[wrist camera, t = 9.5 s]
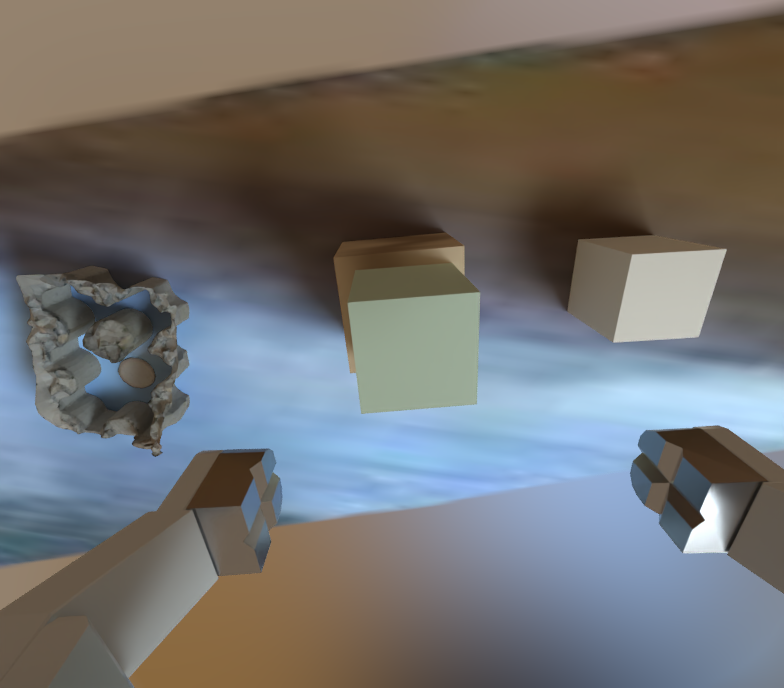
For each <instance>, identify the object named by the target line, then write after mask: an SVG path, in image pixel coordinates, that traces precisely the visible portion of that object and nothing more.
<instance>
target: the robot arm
mask: <svg viewBox="0 0 784 688" xmlns="http://www.w3.org/2000/svg"><path fill="white" fill-rule="evenodd" d="M638 447H639V448H640V450H641V452H642V453H641V454H640V455H639V456H638V457H637V458H636V459H635V460H634V461H633V463H632V467H631V472H630V475H631V481H632V486H633V488H634V490H635V492H636V495H637V496H638V497H639V499H640V500H641V501H642V503H643V504H644V505H645V506H646V507H648V508H650V509H651V510H653V511H655V512H656V513H658V514H659V524H660V526H661V527H662V528H663V529H664V531H665V532H666V533H667V534H668V536H669V537H670V538H671V539H672V541H673V542H674V543H675V544H676V545H677V547H678V548H679V549H680V551H681V552H682V553H724V552H725V553H726V552H728V554H727V555H728V556H730V557H731V558H733V559H734V560H736V561H737V562H738V563H740V564H742V565H743V566H744V567H746V568H747V569H749V570H750V571H751V572H753V573H754V574H756V575H757V576H759V577H760V578H762V579H763V580H765V581H766V582H767V583H769V584H770V585H772V586H773V587H775V588H776V589H778V590H779V591H781V592H782V593H784V469H782V468H781V467H780V466H778V465H777V464H776V463H774V462H773V461H772V460H770V459H769V458H767V457H766V456H765V455H763V454H762V453H760V452H759V451H758V450H756V449H755V448H754V447H752V446H751V445H749V444H748V443H747V442H745V441H744V440H743V439H741V438H740V437H738V436H737V435H736V434H734V433H733V432H731V431H730V430H729V429H727V428H724V427H721V426H704V427H693V428H680V429H662V430H646V431H645V432H644V433H643V434H642V435H641V436H640V439H639V442H638ZM275 465H276V460H275V456H274V453H273V451H272V450H271V449H233V450H209V451H201V452H199V453H198V454H196V455H195V457H194V458H193V460H192V461H191V462H190V464H189V465H188V467H187V468H186V470H185V471H184V472H183V474H182V475H181V477H180V478H179V480H178V481H177V482H176V484H175V485H174V487H173V488H172V490H171V491H170V492H169V494H168V495H167V497H166V498H165V500H164V501H163V502H162V504H161V505H160V507H159V508H158V510H157V511H155V512H148V513H146V514H145V515H143V516H142V517H140V518H139V519H137V520H135V521H134V522H132V523H131V524H129V525H128V526H126V527H125V528H123V529H122V530H120V531H119V532H117V533H116V534H114V535H113V536H111V537H110V538H108V539H107V540H105V541H104V542H102V543H101V544H99V545H98V546H96V547H95V548H93V549H92V550H90V551H89V552H87V553H86V554H84V555H83V556H81V557H80V558H78V559H77V560H75V561H74V562H72V563H71V564H69V565H68V566H66V567H65V568H63V569H62V570H60V571H59V572H57V573H56V574H54V575H53V576H51V577H50V578H48V579H47V580H45V581H44V582H42V583H41V584H39V585H38V586H36V587H35V588H33V589H32V590H30V591H29V592H27V593H26V594H24V595H23V596H21V597H20V598H19V599H17V600H15V601H14V602H12V603H11V604H9V605H8V606H6V607H5V608H3V609H2V610H0V688H134V686H133V685H132V683H131V682H130V680H129V679H128V678H129V677H130V676H131V675H132V674H133V672H134V671H135V670H136V669H137V668H138V667H139V666H140V665H141V664H142V663H143V661H144V660H145V659H146V658H147V657H148V656H149V655H150V654H151V653H152V651H153V650H154V649H155V648H156V647H157V646H158V645H159V644H160V643H161V642H162V640H163V639H164V638H165V637H166V636H167V635H168V634H169V633H170V631H171V630H172V629H173V628H174V627H175V626H176V625H177V623H179V622H180V621H181V619H182V618H183V617H184V616H185V615H186V614H187V613H188V612H189V610H190V609H191V608H192V607H193V606H194V605H195V604H196V603H197V602H198V601H199V600H200V598H201V597H202V596H203V595H204V594H205V593H206V591H208V590H209V588H210V587H211V586H212V585H213V584H214V583H215V582H216V581H217V580H218V576H225V575H237V574H251V573H261V572H262V568H263V566H264V562H265V559H266V556H267V553H268V550H269V547H270V544H271V540H270V535H269V532H268V531H269V530H270V529H271V528H272V527H273V526H274V525H276V524H277V522H278V519H279V515H280V512H281V504H282V486H281V481H280V478H279V477H278V476H277V475H276V474H274V473H273V470H274V467H275Z"/></svg>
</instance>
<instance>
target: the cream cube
mask: <svg viewBox="0 0 784 688" xmlns="http://www.w3.org/2000/svg"><path fill="white" fill-rule="evenodd" d="M726 250H727V249H724V248H718V247H713V246H708V245H703V244H697V243H692V242H687V241H681V240H676V239H671V238H666V237H660V236H655V235H647V236H630V237H613V238H595V239H578V245H577V251H576V258H575V264H574V271H573V277H572V284H571V290H570V297H569V303H568V310H567V312H569V313H570V314H572V315H573V316H575V317H576V318H577V319H579V320H580V321H582V322H583V323H585V324H586V325H588V326H589V327H591V328H592V329H594V330H595V331H597V332H598V333H600V334H601V335H603V336H604V337H606V338H607V339H609V340H610V341H612V342H629V341H645V340H661V339H677V338H693V337H699V334H700V331H701V328H702V325H703V322H704V318H705V315H706V312H707V309H708V306H709V303H710V300H711V297H712V294H713V290H714V287H715V284H716V281H717V278H718V275H719V272H720V269H721V265H722V262H723V259H724V256H725V253H726Z"/></svg>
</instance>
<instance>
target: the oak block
mask: <svg viewBox="0 0 784 688" xmlns="http://www.w3.org/2000/svg"><path fill="white" fill-rule="evenodd" d="M441 263H453V264H454V265H455V266H456V268H457V269H458V270H459V271H460V272H461V273H462V274H463V275H464V245H462V244H461V243H460V242H458V241H457V240H455V239H454V238H453V237H451V236H450V235H448V234H447V233H435V234H424V235H413V236H402V237H391V238H380V239H369V240H358V241H347V242H342V244H341V245H340V247H339V249H338V251H337V252H336V254H335V256H334V265H335V272H336V279H337V286H338V292H339V299H340V306H341V313H342V320H343V327H344V333H345V340H346V347H347V354H348V361H349V367H350V373H356V367H355V359H354V351H353V343H352V335H351V327H350V319H349V311H348V298H349V294H350V290H351V286H352V282H353V277H354V273H355V270H365V269H378V268H391V267H403V266H416V265H429V264H441Z"/></svg>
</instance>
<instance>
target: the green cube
mask: <svg viewBox="0 0 784 688" xmlns="http://www.w3.org/2000/svg"><path fill="white" fill-rule="evenodd" d="M348 311H349V319H350V327H351V335H352V343H353V351H354V359H355V367H356V375H357V383H358V391H359V399H360V407H361V414H364V413H377V412H389V411H401V410H413V409H425V408H437V407H450V406H462V405H474V404H477V379H478V346H479V312H480V292H479V290H478V289H477V288H476V287H475V286H474V285H473V284H472V283H471V282H470V281H469V280H468V279H467V278H466V277H465V276H464V275H463V274H462V273H461V272H460V271H459V270H458V269H457V268H456V266H455V265H454V264H453V263H441V264H429V265H416V266H403V267H391V268H378V269H365V270H355V273H354V277H353V282H352V286H351V290H350V294H349V298H348Z"/></svg>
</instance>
